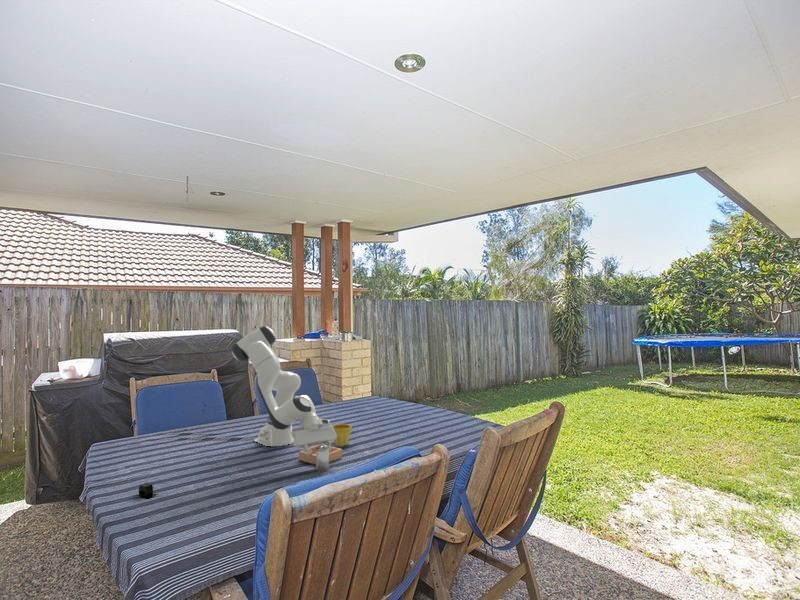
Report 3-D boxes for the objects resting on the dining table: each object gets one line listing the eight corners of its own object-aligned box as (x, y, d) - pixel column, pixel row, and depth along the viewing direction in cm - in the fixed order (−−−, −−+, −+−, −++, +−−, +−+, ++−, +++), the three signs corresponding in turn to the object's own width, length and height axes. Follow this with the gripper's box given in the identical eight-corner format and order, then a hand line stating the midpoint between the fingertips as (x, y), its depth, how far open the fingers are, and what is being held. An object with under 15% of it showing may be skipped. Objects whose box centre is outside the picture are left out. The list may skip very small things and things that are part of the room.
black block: (165, 495, 171) (165, 483, 171) (147, 503, 164) (148, 490, 164) (143, 490, 176) (143, 479, 176) (125, 497, 169) (125, 485, 169)
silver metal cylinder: (313, 469, 198) (313, 445, 198) (322, 466, 203) (322, 442, 203) (322, 472, 195) (322, 447, 195) (331, 468, 200) (331, 444, 200)
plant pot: (333, 448, 231) (333, 429, 231) (330, 442, 241) (330, 424, 241) (352, 446, 234) (352, 427, 234) (349, 441, 243) (349, 423, 244)
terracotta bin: (298, 459, 212) (299, 451, 212) (320, 452, 224) (320, 444, 224) (321, 465, 204) (321, 456, 204) (342, 457, 216) (342, 449, 216)
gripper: (292, 425, 200) (300, 452, 192) (332, 419, 212) (342, 445, 204) (288, 433, 204) (296, 460, 196) (328, 427, 216) (337, 452, 207)
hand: (320, 452), depth 200 cm, fingers open, 8 cm apart
